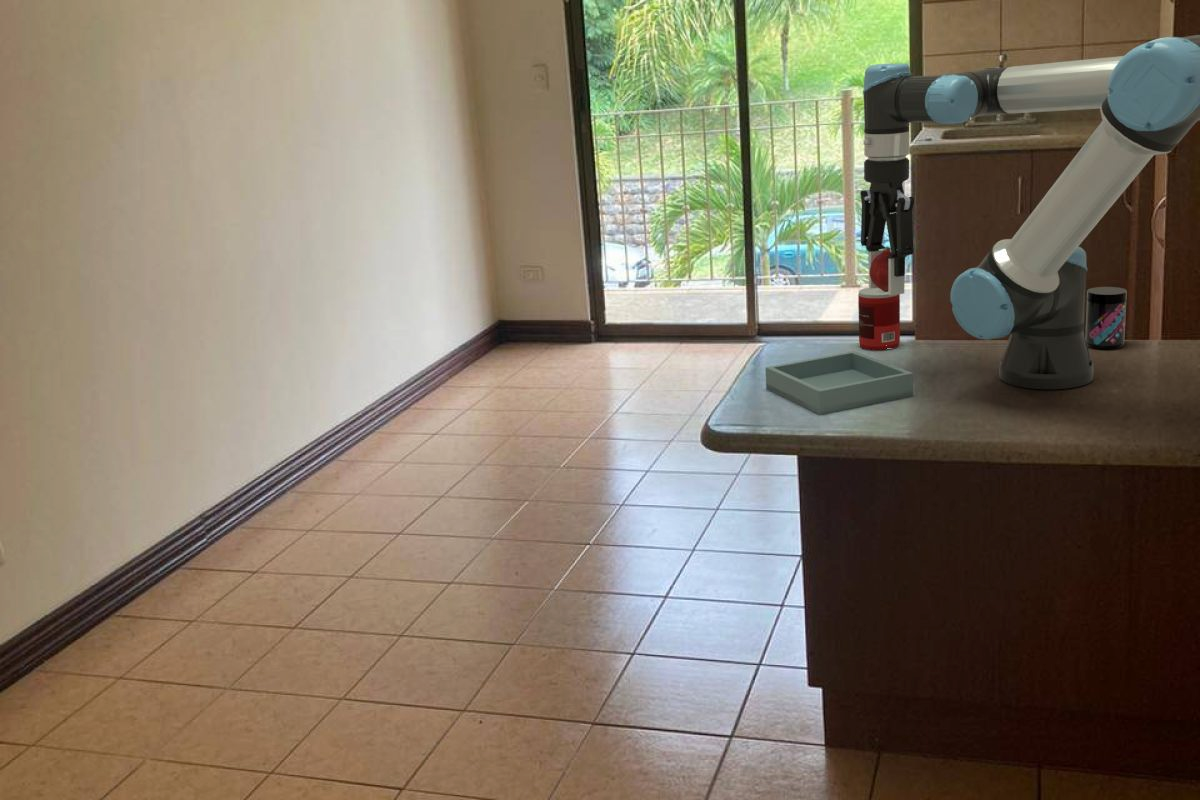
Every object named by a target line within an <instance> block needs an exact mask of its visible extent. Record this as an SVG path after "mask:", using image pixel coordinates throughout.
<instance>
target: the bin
mask: <svg viewBox="0 0 1200 800" xmlns="http://www.w3.org/2000/svg"><path fill="white" fill-rule="evenodd" d="M765 389H766V390H767V389H768V390H767V391H769V390H770V392H771V391H772V393H773V392H774V393H773V394H775V393H776V395H778V396H780V397H782V398H784V399H786V400H787V401H790V402H792V403H794V404H796V405H798V406H801V407H803V408H805V409H807V410H808V411H811V412H813V413H815V414H817V415H820V416H821V415H826V414H831V413H835V412H836V413H837V412H841V411H846V410H853V409H855V408H860V407H866V406H871V405H876V404H880V403H886V402H891V401H895V400H901V399H906V398H909V397H910V398H911V397H914V373H913V372H911V371H908V370H905V369H902V368H901V367H898V366H896V365H892V364H889V363H887V362H885V361H882V360H879V359H876V358H874V357H871V356H868V355H866V354H863V353H861V352H858V351H856V350H852V351H845V352H841V353H836V354H830V355H825V356H819V357H814V358H809V359H803V360H798V361H792V362H787V363H781V364H776V365H771V366H766V367H765Z"/></svg>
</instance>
